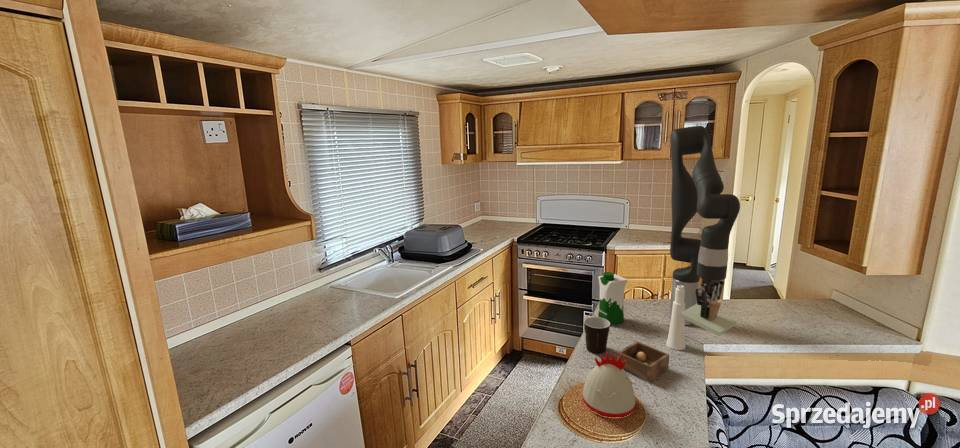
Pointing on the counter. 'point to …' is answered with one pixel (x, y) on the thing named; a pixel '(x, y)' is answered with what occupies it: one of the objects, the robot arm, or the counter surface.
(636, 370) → the box
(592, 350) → the coffee mug
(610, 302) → the milk carton
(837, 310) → the counter surface
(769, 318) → the counter surface
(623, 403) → the cream dome
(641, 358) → the ball
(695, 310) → the lid
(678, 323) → the cosmetic bottle
